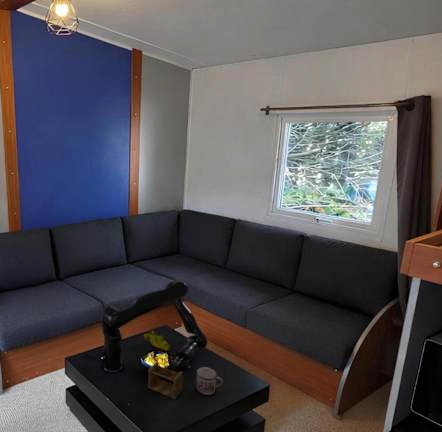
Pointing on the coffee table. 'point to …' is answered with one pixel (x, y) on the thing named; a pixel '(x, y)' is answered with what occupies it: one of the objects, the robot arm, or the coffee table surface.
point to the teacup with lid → (207, 381)
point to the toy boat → (157, 341)
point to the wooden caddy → (161, 385)
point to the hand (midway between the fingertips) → (171, 370)
